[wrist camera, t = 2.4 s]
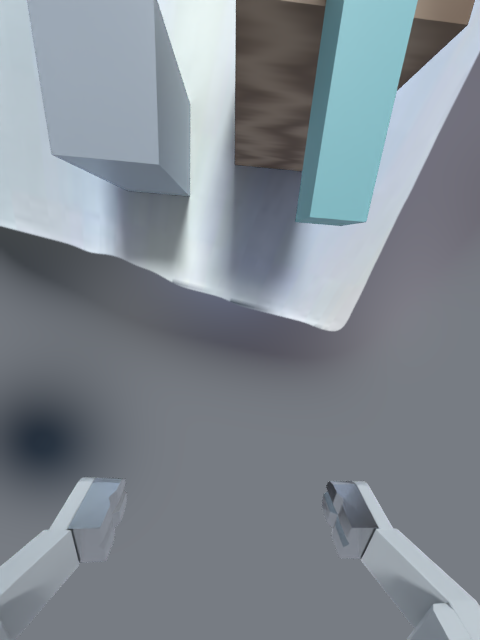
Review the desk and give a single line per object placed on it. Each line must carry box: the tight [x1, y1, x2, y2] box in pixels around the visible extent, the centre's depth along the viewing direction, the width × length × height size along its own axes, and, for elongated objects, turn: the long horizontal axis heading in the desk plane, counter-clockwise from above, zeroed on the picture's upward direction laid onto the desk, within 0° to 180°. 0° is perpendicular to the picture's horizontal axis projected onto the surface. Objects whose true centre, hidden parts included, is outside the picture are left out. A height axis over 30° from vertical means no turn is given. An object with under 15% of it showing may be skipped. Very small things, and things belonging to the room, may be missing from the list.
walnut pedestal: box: [235, 0, 475, 171], centre depth 22 cm, size 12×12×26 cm
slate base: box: [27, 0, 190, 196], centre depth 27 cm, size 10×12×16 cm
